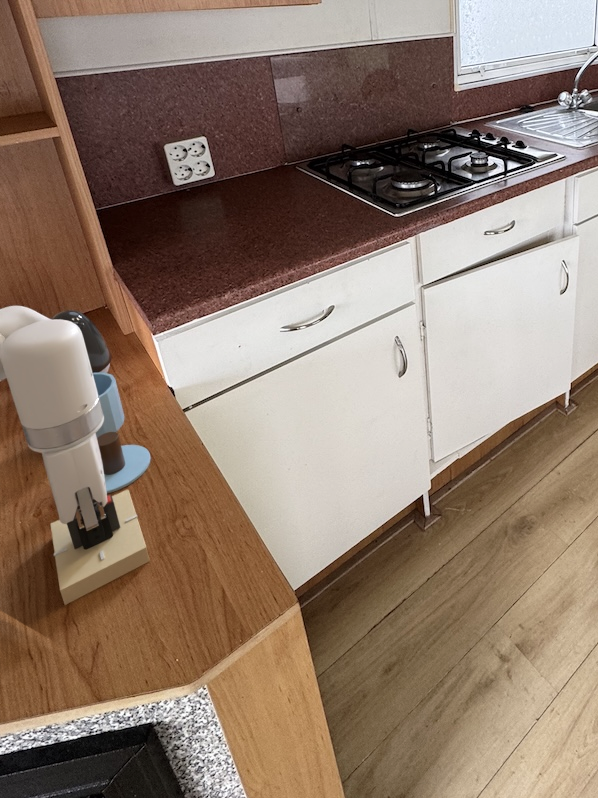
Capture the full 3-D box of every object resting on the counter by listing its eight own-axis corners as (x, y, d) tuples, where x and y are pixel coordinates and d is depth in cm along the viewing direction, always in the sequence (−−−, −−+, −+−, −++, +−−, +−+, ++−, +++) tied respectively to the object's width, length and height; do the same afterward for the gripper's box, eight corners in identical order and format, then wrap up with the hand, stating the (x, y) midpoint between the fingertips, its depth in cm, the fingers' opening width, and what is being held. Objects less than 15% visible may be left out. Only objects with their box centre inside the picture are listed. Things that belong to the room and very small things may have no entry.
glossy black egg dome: (68, 407, 103) (47, 333, 97) (38, 388, 107) (17, 317, 102) (127, 377, 111) (111, 307, 106) (97, 360, 116) (80, 293, 111)
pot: (47, 441, 95) (34, 398, 92) (100, 407, 103) (90, 367, 100) (85, 456, 92) (73, 413, 89) (137, 420, 100) (127, 380, 97)
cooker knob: (74, 549, 73) (66, 521, 72) (73, 541, 74) (64, 513, 73) (120, 528, 76) (113, 500, 75) (118, 520, 77) (111, 493, 76)
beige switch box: (54, 540, 78) (49, 523, 77) (133, 504, 84) (128, 487, 82) (64, 608, 69) (58, 590, 68) (151, 563, 75) (147, 545, 74)
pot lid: (62, 486, 86) (51, 451, 84) (122, 443, 95) (114, 410, 93) (107, 506, 83) (97, 470, 81) (165, 460, 92) (158, 426, 89)
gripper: (21, 399, 73) (56, 510, 79) (28, 475, 61) (68, 599, 67) (92, 376, 77) (120, 483, 83) (111, 443, 66) (142, 561, 72)
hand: (97, 534), depth 75 cm, fingers closed
